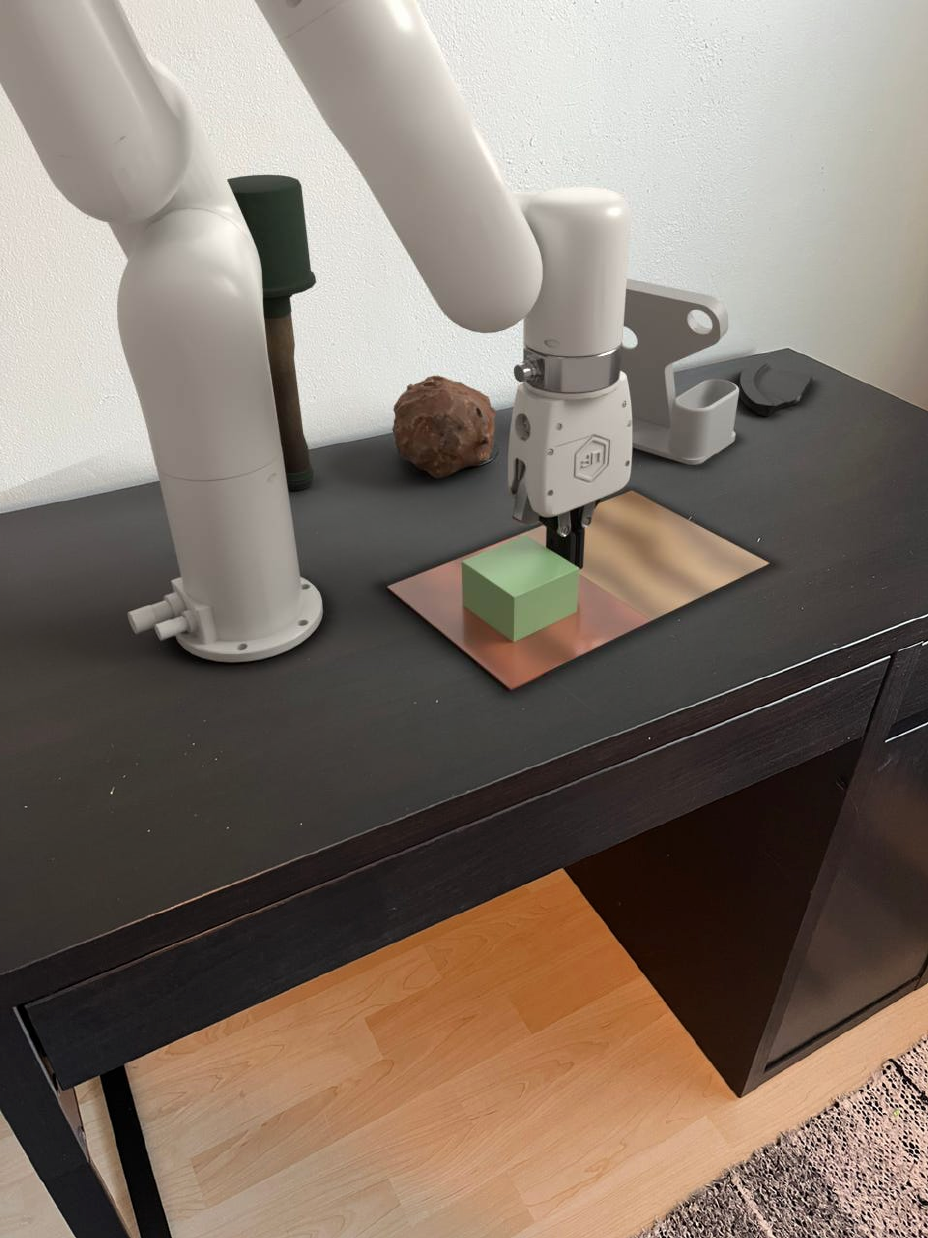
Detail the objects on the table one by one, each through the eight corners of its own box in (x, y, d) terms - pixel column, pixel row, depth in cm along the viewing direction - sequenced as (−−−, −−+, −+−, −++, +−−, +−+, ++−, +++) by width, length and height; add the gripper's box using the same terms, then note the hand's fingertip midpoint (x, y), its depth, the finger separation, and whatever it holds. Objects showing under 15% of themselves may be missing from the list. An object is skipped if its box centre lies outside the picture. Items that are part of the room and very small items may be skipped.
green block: (513, 642, 78) (514, 597, 76) (462, 605, 83) (461, 560, 81) (576, 612, 82) (579, 567, 79) (524, 577, 86) (525, 534, 84)
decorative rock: (508, 487, 101) (508, 397, 95) (402, 499, 100) (397, 408, 94) (481, 436, 112) (480, 352, 106) (385, 446, 110) (379, 361, 104)
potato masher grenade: (344, 467, 106) (314, 172, 89) (327, 505, 99) (291, 192, 82) (269, 465, 107) (225, 172, 89) (247, 502, 100) (194, 192, 82)
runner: (510, 690, 74) (510, 688, 74) (386, 588, 86) (386, 586, 86) (769, 564, 88) (769, 562, 88) (631, 491, 100) (631, 490, 100)
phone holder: (741, 438, 110) (767, 278, 99) (697, 469, 104) (720, 302, 93) (614, 401, 119) (625, 251, 109) (566, 428, 113) (573, 272, 103)
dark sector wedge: (717, 408, 117) (719, 395, 116) (750, 371, 127) (752, 359, 126) (786, 420, 114) (789, 407, 113) (814, 382, 123) (816, 370, 122)
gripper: (526, 403, 68) (524, 614, 79) (676, 354, 75) (655, 555, 85) (464, 372, 73) (470, 575, 84) (610, 330, 80) (598, 522, 91)
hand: (564, 565), depth 85 cm, fingers closed
